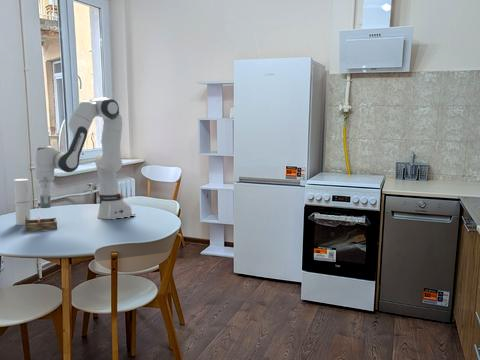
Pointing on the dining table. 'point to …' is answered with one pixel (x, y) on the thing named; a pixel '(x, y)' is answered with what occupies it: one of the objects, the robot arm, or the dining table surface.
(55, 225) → the brown wooden open box
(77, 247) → the dining table surface
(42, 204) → the jar
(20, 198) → the cylindrical container
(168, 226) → the dining table surface
